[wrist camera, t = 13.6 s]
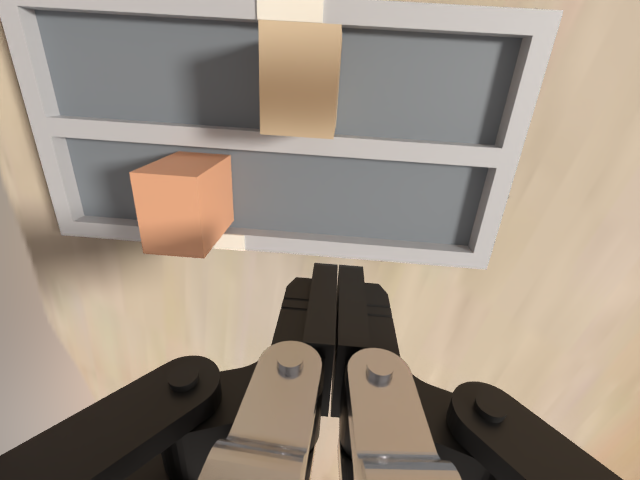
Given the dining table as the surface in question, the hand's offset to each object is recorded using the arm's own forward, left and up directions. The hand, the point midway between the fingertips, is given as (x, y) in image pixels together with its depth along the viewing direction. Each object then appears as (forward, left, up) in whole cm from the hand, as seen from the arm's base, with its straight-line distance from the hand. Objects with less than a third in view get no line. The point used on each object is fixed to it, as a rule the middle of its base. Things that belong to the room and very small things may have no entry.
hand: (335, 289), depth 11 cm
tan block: (-6, -2, -10) cm, 12 cm away
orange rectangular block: (0, -8, -10) cm, 13 cm away
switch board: (-3, -4, -12) cm, 13 cm away
